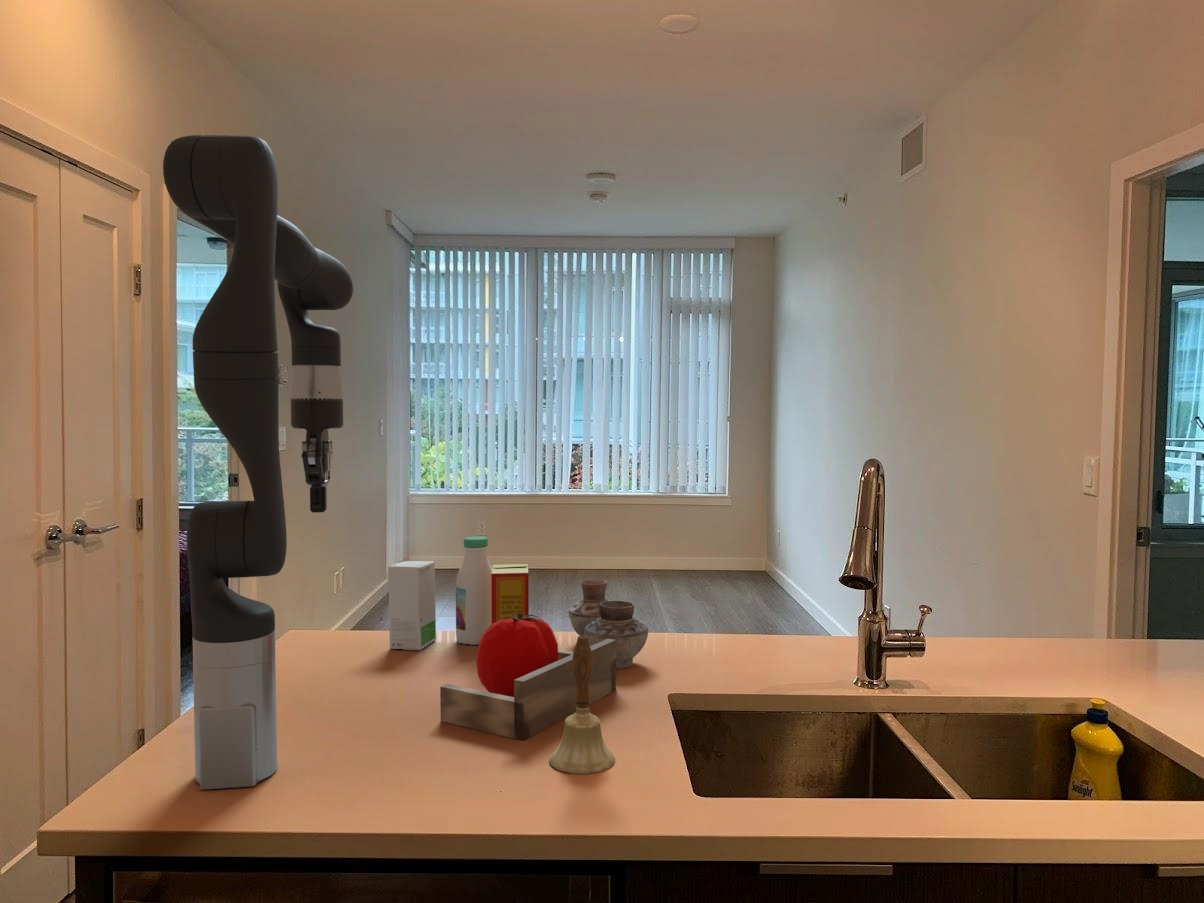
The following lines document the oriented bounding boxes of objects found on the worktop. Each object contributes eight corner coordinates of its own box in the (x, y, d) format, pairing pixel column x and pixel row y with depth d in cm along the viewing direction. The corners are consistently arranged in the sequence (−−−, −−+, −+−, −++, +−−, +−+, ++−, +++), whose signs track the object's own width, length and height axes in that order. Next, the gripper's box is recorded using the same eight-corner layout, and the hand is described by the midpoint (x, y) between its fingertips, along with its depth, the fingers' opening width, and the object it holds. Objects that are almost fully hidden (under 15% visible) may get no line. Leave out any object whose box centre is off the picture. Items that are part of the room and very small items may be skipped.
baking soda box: (528, 660, 155) (528, 570, 154) (491, 661, 154) (491, 571, 154) (528, 646, 164) (527, 561, 164) (493, 647, 164) (492, 562, 163)
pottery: (613, 635, 173) (613, 575, 172) (657, 671, 149) (657, 601, 148) (558, 639, 169) (558, 578, 169) (594, 676, 146) (594, 605, 145)
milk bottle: (500, 636, 172) (499, 535, 171) (491, 646, 164) (490, 540, 163) (461, 635, 172) (461, 534, 172) (451, 645, 165) (450, 540, 164)
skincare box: (419, 651, 161) (419, 567, 160) (386, 649, 162) (385, 566, 161) (437, 640, 169) (436, 560, 168) (405, 638, 170) (404, 559, 169)
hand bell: (628, 761, 110) (628, 636, 109) (580, 780, 104) (580, 648, 103) (583, 743, 116) (583, 624, 115) (535, 761, 110) (535, 635, 109)
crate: (440, 721, 124) (440, 665, 124) (540, 675, 146) (540, 628, 145) (523, 740, 117) (523, 681, 116) (616, 689, 138) (616, 639, 138)
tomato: (490, 718, 125) (489, 626, 125) (467, 692, 137) (466, 608, 136) (572, 706, 130) (572, 618, 130) (543, 682, 142) (543, 601, 142)
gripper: (336, 395, 125) (338, 516, 126) (348, 397, 138) (349, 506, 139) (281, 395, 124) (283, 517, 124) (298, 397, 137) (300, 507, 137)
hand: (318, 511), depth 132 cm, fingers closed
